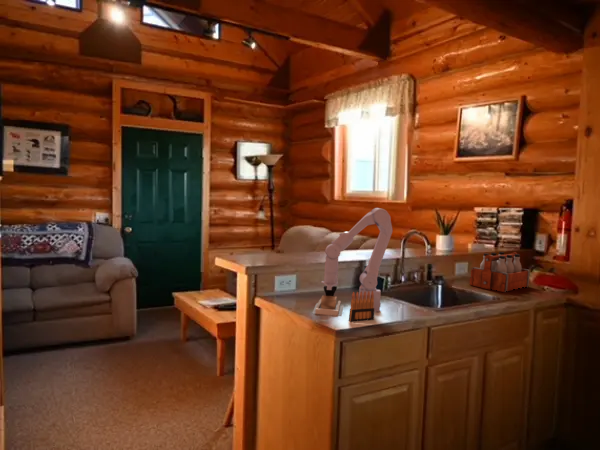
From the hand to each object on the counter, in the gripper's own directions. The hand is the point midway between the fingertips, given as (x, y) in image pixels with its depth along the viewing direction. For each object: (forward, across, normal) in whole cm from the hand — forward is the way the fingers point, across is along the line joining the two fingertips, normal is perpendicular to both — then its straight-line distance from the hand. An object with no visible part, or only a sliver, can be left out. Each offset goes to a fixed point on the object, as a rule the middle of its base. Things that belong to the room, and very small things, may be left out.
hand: (329, 303), depth 207 cm
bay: (+2, +5, 0) cm, 6 cm away
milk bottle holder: (+2, -83, +92) cm, 124 cm away
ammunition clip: (+2, +17, +14) cm, 22 cm away
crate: (+1, +5, 0) cm, 5 cm away
